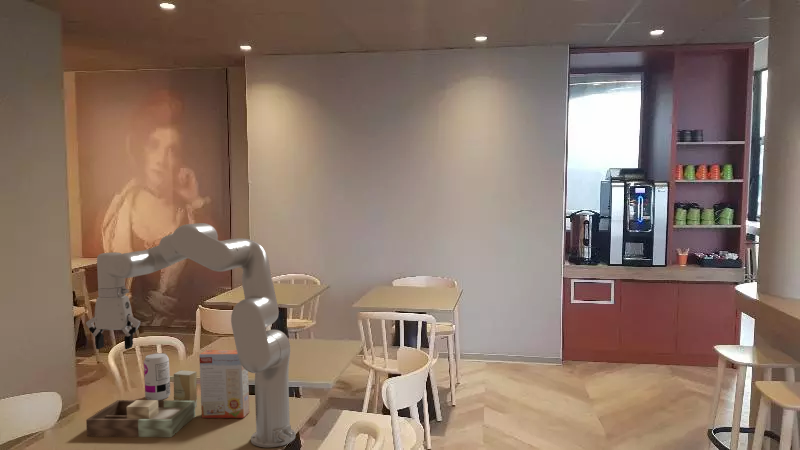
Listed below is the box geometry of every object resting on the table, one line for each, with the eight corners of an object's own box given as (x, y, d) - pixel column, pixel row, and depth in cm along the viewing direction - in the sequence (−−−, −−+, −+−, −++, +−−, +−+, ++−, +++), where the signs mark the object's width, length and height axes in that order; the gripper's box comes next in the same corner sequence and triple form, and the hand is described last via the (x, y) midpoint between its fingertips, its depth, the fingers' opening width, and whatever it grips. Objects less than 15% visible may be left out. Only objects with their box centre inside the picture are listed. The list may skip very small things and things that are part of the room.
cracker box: (250, 412, 195) (248, 349, 194) (243, 419, 189) (241, 353, 188) (208, 411, 197) (206, 348, 195) (201, 418, 191) (198, 353, 189)
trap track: (195, 415, 193) (194, 400, 192) (171, 437, 176) (170, 420, 176) (118, 415, 195) (117, 400, 195) (87, 436, 178) (86, 419, 178)
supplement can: (143, 402, 206) (142, 359, 206) (147, 395, 214) (145, 353, 214) (168, 400, 209) (167, 357, 208) (171, 392, 217) (169, 351, 216)
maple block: (158, 412, 188) (158, 400, 188) (149, 419, 182) (148, 406, 182) (137, 412, 188) (136, 400, 188) (127, 419, 182) (126, 406, 182)
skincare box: (173, 409, 199) (172, 373, 198) (181, 405, 203) (179, 369, 202) (190, 411, 197) (189, 374, 197) (198, 406, 201) (196, 370, 201)
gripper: (145, 290, 187) (147, 345, 188) (92, 290, 188) (94, 345, 189) (132, 294, 180) (134, 351, 180) (77, 294, 181) (80, 351, 182)
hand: (114, 348), depth 185 cm, fingers open, 8 cm apart
